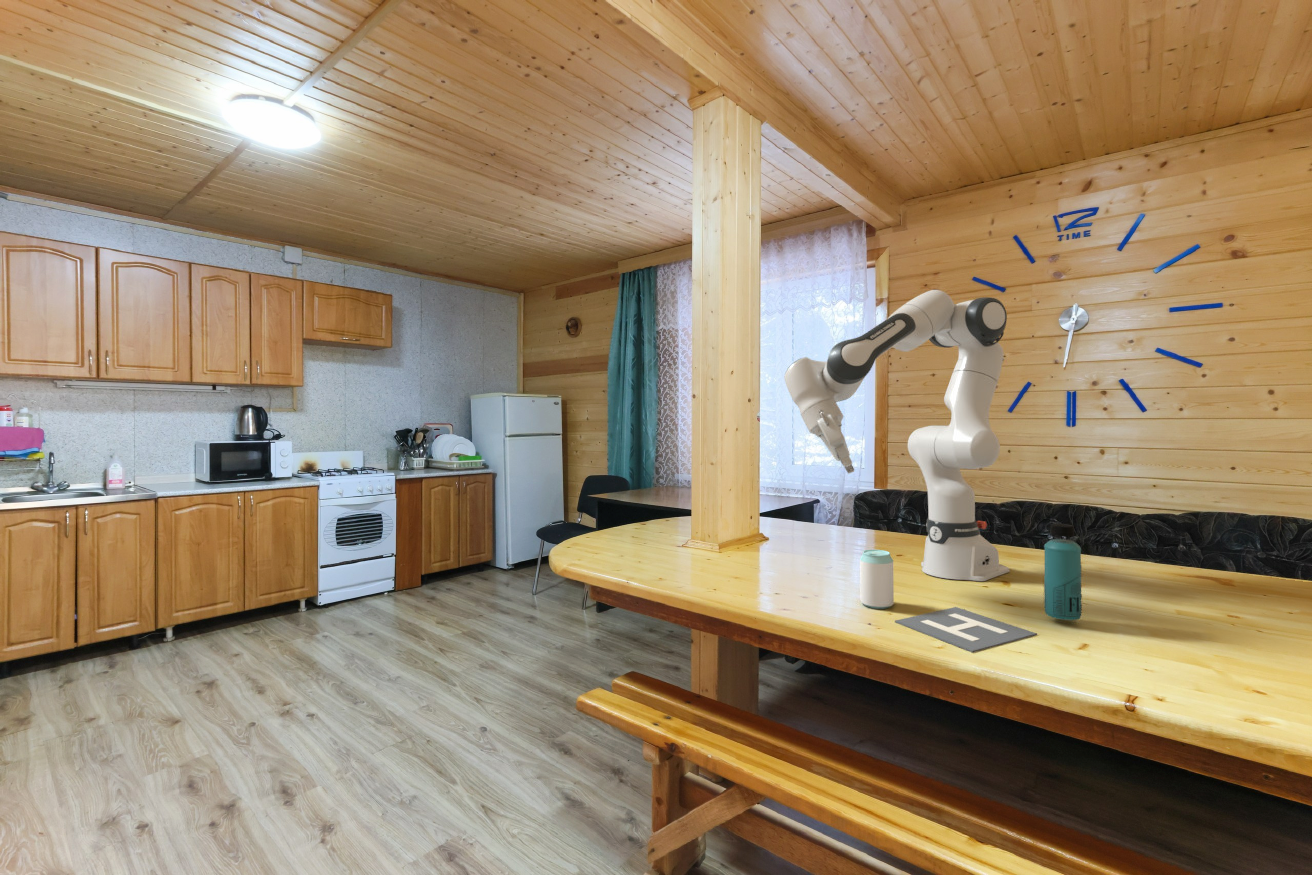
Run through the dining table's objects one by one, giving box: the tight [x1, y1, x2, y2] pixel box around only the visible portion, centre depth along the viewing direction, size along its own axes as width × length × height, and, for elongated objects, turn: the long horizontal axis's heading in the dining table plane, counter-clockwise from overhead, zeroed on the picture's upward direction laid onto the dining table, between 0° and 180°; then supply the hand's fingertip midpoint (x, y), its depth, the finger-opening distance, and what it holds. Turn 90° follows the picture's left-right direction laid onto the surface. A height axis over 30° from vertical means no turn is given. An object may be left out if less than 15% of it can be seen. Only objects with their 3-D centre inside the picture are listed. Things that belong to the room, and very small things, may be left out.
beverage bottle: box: [1043, 523, 1083, 621], centre depth 123 cm, size 6×7×20 cm
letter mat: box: [894, 606, 1038, 653], centre depth 121 cm, size 18×18×1 cm
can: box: [859, 549, 895, 610], centre depth 137 cm, size 7×7×12 cm
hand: (850, 468), depth 144 cm, fingers open, 8 cm apart
